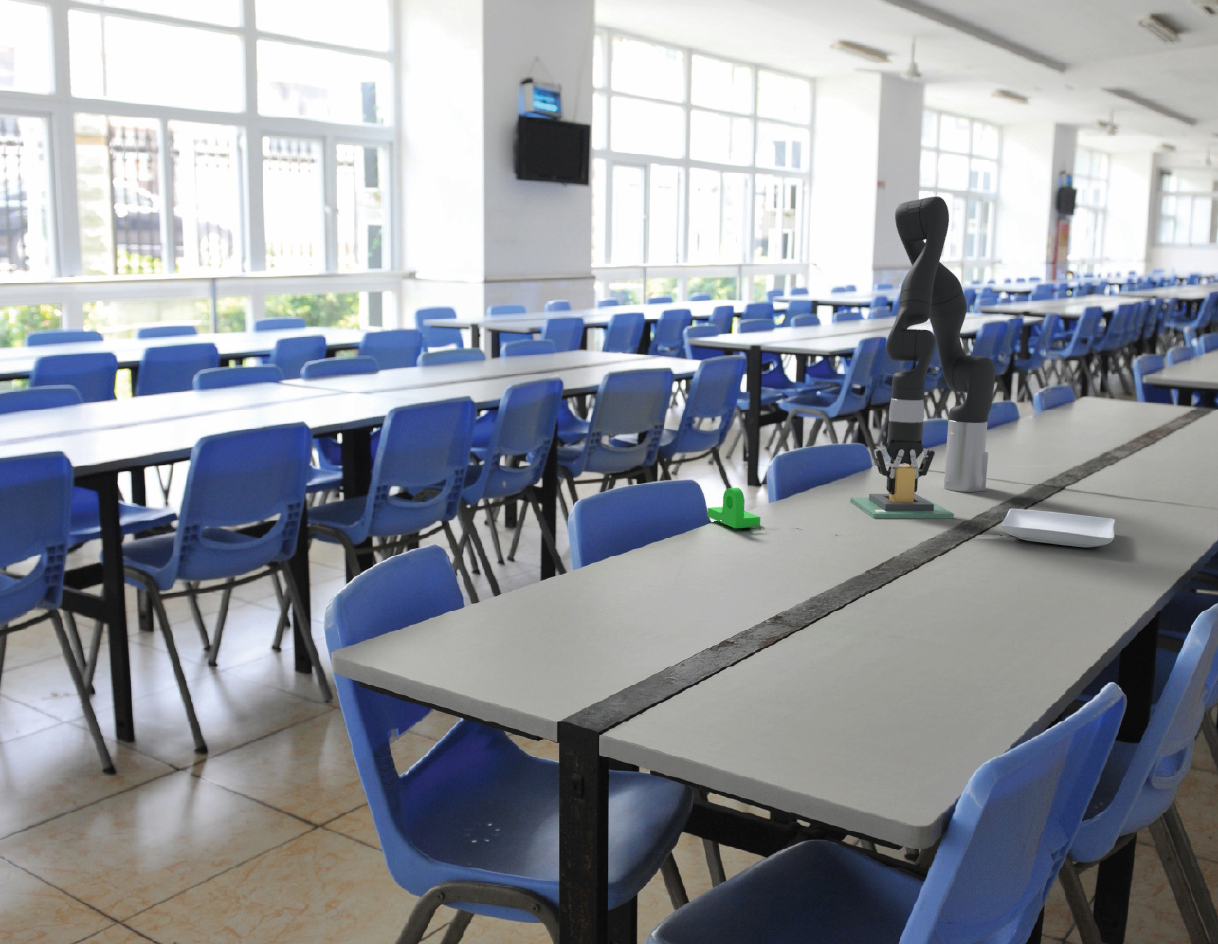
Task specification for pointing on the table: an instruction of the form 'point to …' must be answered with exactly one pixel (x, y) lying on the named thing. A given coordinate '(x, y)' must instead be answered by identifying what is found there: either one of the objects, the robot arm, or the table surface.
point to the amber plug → (904, 484)
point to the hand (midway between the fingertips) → (901, 493)
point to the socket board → (900, 514)
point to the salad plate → (1059, 528)
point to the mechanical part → (733, 511)
